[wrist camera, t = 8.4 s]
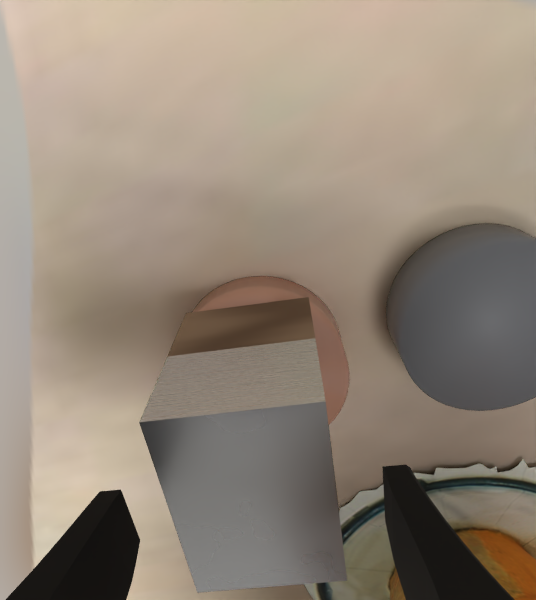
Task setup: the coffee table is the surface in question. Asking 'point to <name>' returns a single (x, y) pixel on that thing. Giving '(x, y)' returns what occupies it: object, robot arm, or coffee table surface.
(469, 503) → the decorative vase
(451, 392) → the stand
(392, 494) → the robot arm
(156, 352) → the coffee table surface
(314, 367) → the housing
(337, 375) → the stand
